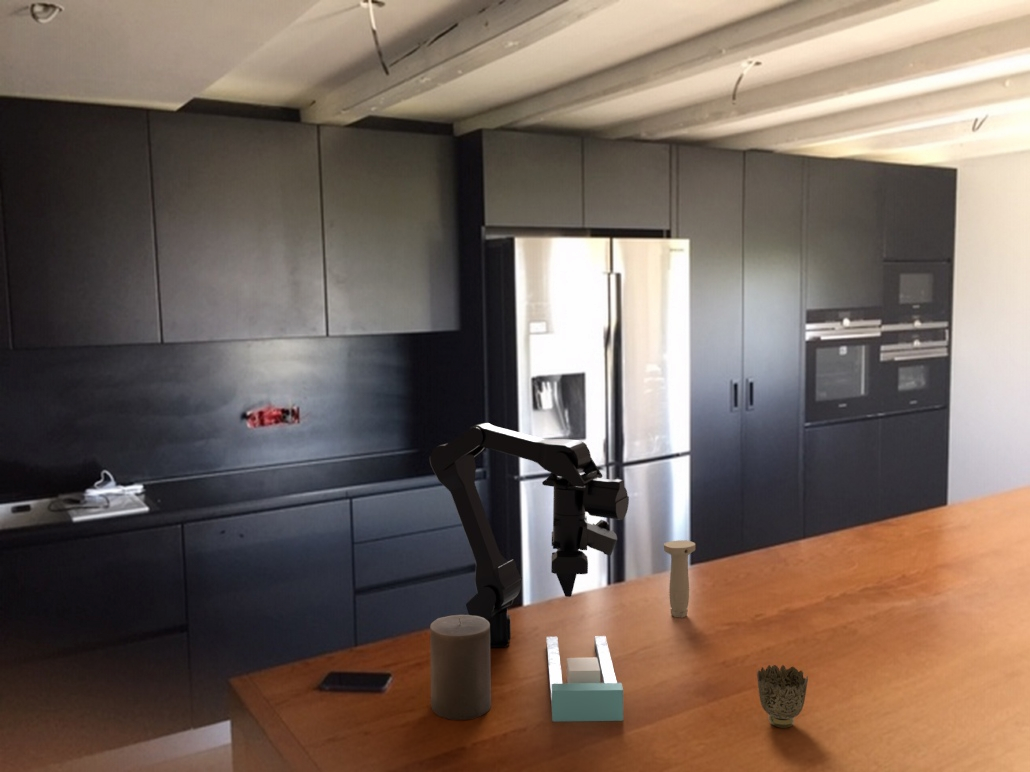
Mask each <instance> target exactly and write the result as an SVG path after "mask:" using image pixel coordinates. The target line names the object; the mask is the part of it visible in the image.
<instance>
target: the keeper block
mask: <svg viewBox="0 0 1030 772" xmlns="http://www.w3.org/2000/svg"><path fill="white" fill-rule="evenodd" d="M566 683H601V674H600V668H599V664H598V659H597V656H596V657H595V656H594V657H593V656H592V657H566Z"/></svg>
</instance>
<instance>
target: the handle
mask: <svg viewBox="0 0 1030 772" xmlns="http://www.w3.org/2000/svg"><path fill="white" fill-rule="evenodd" d="M663 551H665V553H666V554H668V555H670V560H671V561H670V574H669V575H670V576H669V586H668V587H669V589H668V593H669V594H668V595H669V604H670V615H671V616H673V617H674V618H682V619H684V618H685V617H687V616H688V606H689V601H690V600H689V598H690V579H689V578H690V577H689V555H690V554H691V553H693V552H695V551H696V542H693V541H691V540H681V539H680V540H679V539H678V540H672V541H667V542H664V543H663Z"/></svg>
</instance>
